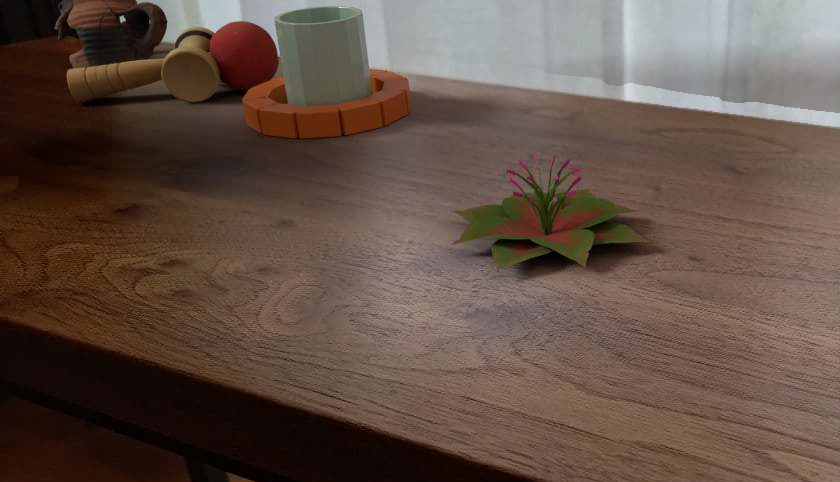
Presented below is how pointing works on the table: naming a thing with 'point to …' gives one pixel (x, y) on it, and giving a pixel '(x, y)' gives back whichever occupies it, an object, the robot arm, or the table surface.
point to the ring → (326, 109)
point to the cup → (323, 55)
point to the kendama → (189, 65)
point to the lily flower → (546, 222)
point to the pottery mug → (111, 30)
